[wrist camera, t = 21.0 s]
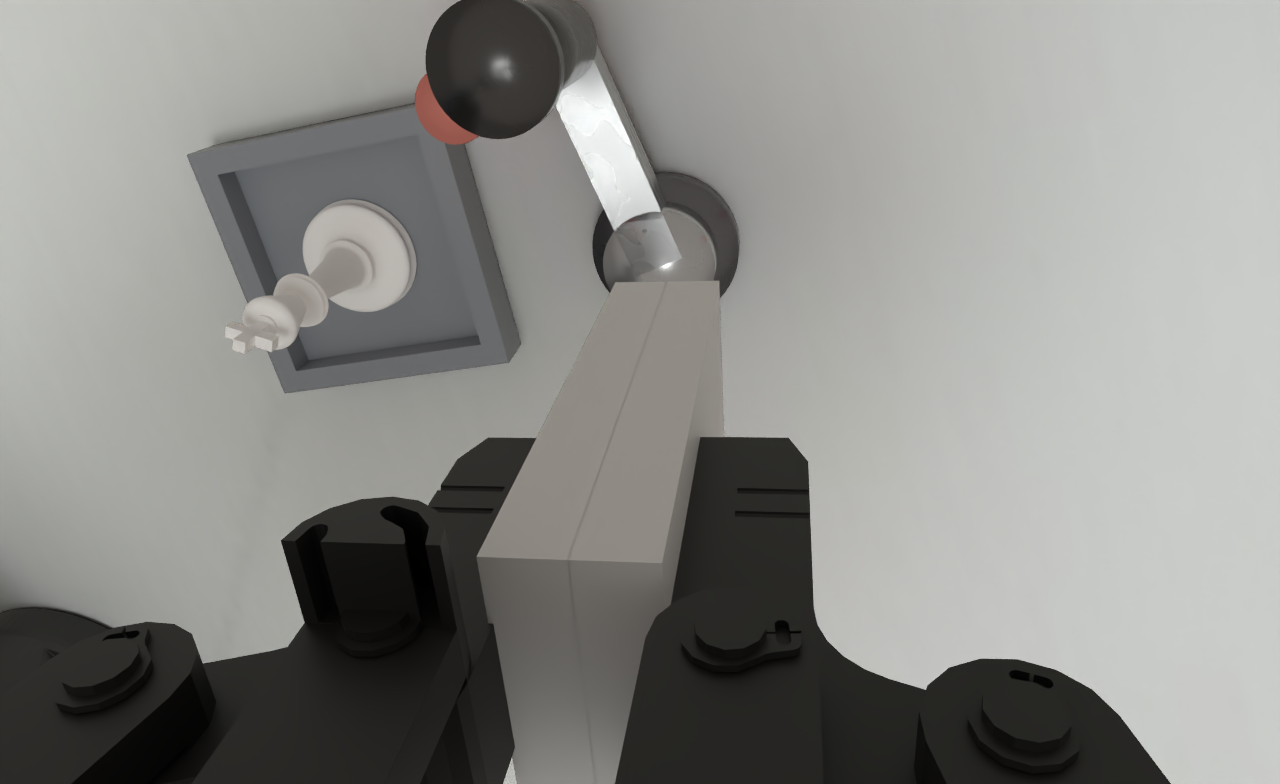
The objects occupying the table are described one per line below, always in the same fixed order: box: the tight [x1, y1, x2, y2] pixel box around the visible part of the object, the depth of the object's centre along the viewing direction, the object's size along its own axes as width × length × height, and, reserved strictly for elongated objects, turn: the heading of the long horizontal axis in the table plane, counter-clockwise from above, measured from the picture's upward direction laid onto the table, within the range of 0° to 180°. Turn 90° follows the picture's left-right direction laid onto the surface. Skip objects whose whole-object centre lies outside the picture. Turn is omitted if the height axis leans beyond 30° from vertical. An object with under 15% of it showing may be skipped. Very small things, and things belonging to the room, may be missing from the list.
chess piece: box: [225, 199, 417, 354], centre depth 35 cm, size 5×5×10 cm
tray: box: [187, 103, 521, 393], centre depth 39 cm, size 11×11×2 cm
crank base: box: [593, 173, 740, 297], centre depth 37 cm, size 6×6×1 cm
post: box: [415, 74, 478, 145], centre depth 32 cm, size 2×2×8 cm
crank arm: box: [426, 0, 718, 291], centre depth 31 cm, size 13×4×9 cm, turn 25°
